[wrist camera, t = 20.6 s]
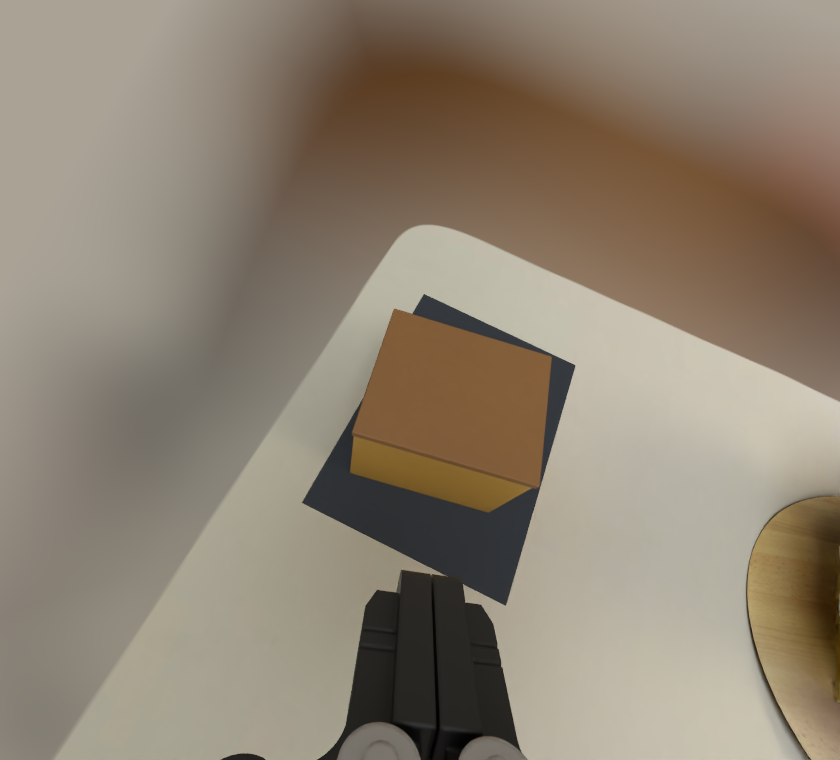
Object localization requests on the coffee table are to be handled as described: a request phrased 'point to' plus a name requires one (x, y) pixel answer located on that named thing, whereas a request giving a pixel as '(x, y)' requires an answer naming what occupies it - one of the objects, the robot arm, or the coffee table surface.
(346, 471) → the mat
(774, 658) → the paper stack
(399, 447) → the toy box
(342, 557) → the coffee table surface
